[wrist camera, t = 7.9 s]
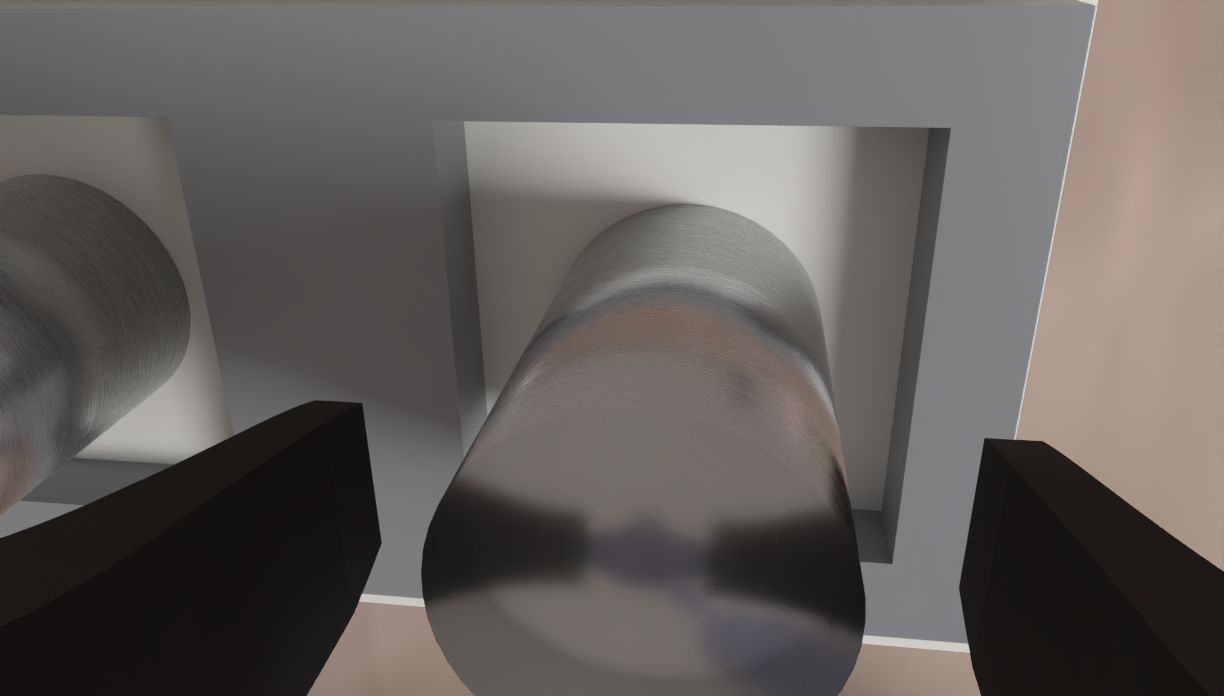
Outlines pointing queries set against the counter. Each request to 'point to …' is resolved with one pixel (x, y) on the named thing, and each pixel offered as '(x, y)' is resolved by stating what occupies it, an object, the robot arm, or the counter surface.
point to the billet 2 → (657, 483)
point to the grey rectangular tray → (564, 218)
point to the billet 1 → (77, 322)
